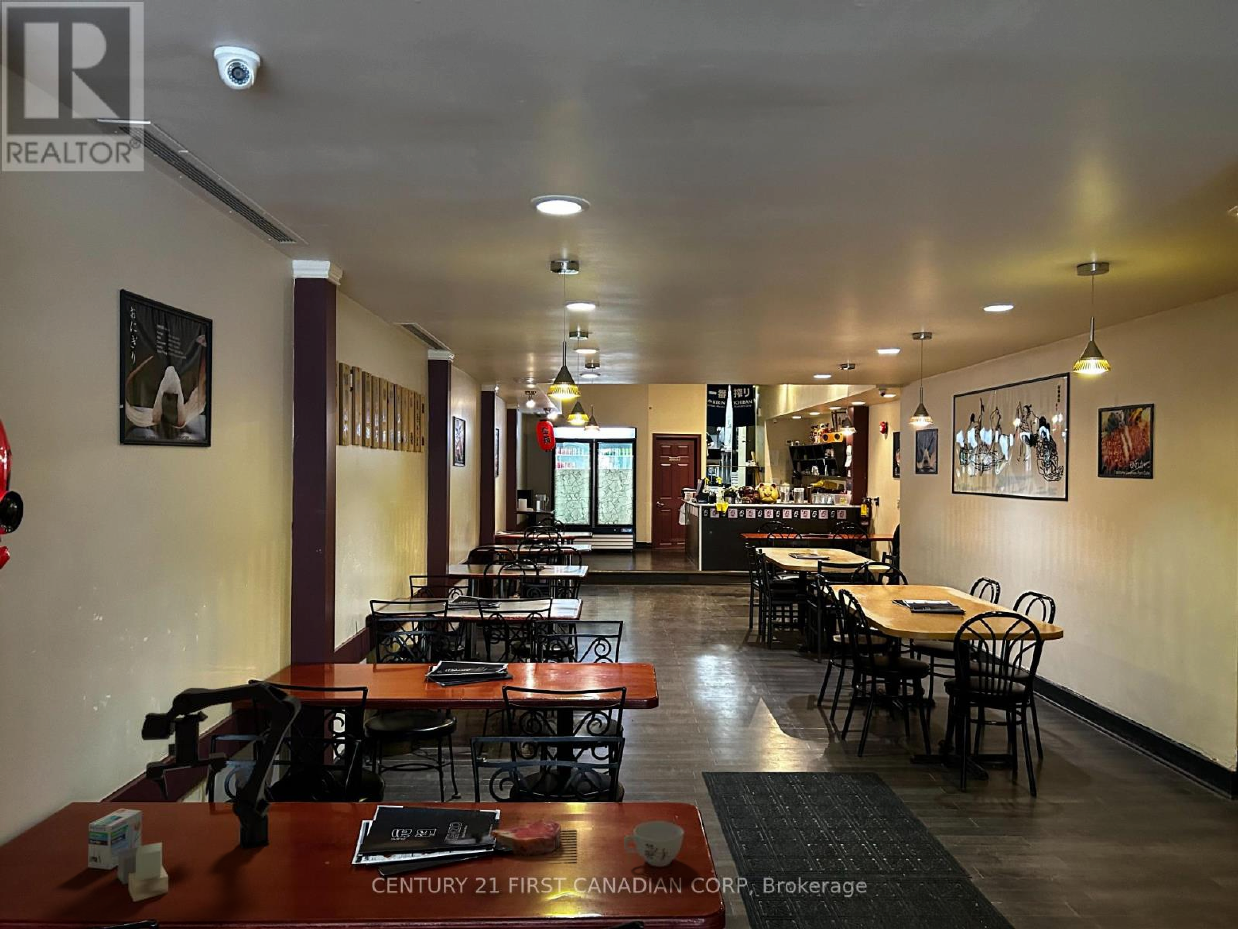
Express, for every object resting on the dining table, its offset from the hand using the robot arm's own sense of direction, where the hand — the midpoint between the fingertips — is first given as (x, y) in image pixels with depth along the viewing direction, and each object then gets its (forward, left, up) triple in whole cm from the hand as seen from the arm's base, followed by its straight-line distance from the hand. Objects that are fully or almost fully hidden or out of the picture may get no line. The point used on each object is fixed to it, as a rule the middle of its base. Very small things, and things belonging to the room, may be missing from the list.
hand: (186, 798), depth 223 cm
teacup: (-103, +66, -13) cm, 123 cm away
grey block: (+12, +13, -13) cm, 22 cm away
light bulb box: (+16, 0, -13) cm, 20 cm away
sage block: (+8, +22, -9) cm, 25 cm away
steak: (-79, +43, -13) cm, 91 cm away
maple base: (+8, +23, -13) cm, 27 cm away
